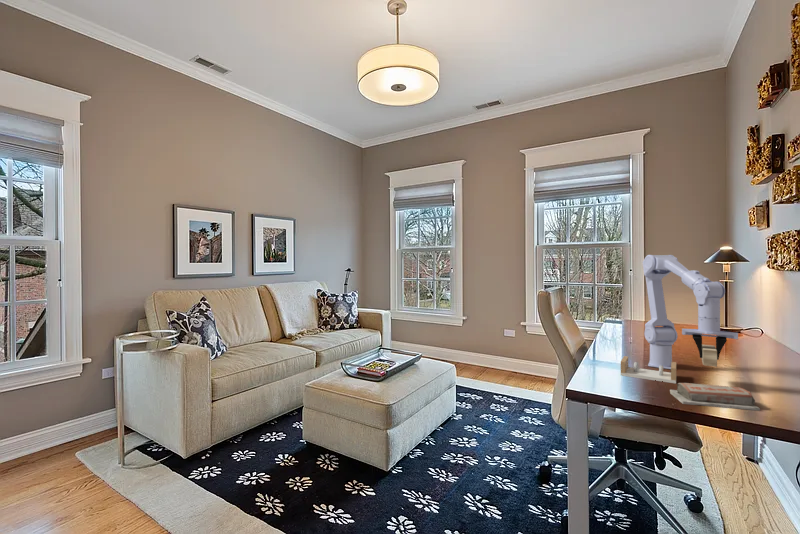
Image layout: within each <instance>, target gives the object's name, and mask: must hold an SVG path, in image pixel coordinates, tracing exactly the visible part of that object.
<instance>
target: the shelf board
mask: <svg viewBox="0 0 800 534" xmlns="http://www.w3.org/2000/svg"><path fill="white" fill-rule="evenodd" d="M702 354H703V358H701V362H702V365H703V366H706V367H708V366H709V367H716V368H717V367H718V360H717V350H716V345H711V344H702Z"/></svg>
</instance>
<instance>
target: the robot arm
mask: <svg viewBox="0 0 800 534" xmlns="http://www.w3.org/2000/svg"><path fill="white" fill-rule="evenodd" d="M641 263H642V269H643V275H644V277H645V282H646V292H647V298H648V299H647V300H648V306H649V313H650V319H649V320H648V321H647V322H645V324H644V332H643V333H644V338H645V340H646V341H647V343H649V361H648V364H647V366H648V367H652V368H658V369H659V365H662V366H663V369H666V370H667V369H668V370H671V362H673V356H672V355H673V345H674V343H676V342H677V339H678V336H679V335H678V332H677V330H676V328H675V323H674V322H672V321H671V320H669V318H668V315H667V307H666V302H665V295H664V288H663V279H664V277H667V276H668V275H670V273H673V274H674V275H676V276H677V277H679V278H681V280H680V281H681V282H682V284H684V285H685V286H687V287H688V288H689V289H690V290H692V291H693V295H694V297H695V302H696V303H697V310H698V311H697V316H698V317H697V328H681V335H683V336H686V335H687V336H692V339H693V341H694V343H695V345H696V347H697V350H698V353H699V358H700V359H702V358H703V354H702V345H703V337H708V338H710V337H711V338H715V348H716V350H717V361H718V360H719V359H720V354H721V351H722V349H723V347H724V346H725V344H726V343H727V341H728V340H727V339H733V340H739V332H732V331H726V330H725V331H724V330H721V299H722V298H723V297H725V293H726V288H725V286H724V284H722V283H721V282H720V281H712V280H710V278H709V277H706V276H704V275H703V274H701V272H700V271H699V270H696V269H693V270H692V269H691V270H689V269H688V268H687V267H686V266H685V265H684V264H682V263H681V262H680V261H679V259H678V257H676V256H674V255H673V254H664V255H663V254H661V255H660V254H647V255H646V256H645V257H644V259H643V260H642V262H641Z"/></svg>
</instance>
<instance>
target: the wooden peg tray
mask: <svg viewBox="0 0 800 534" xmlns="http://www.w3.org/2000/svg"><path fill="white" fill-rule="evenodd" d="M621 375H622V377H629V378H635V379H643V380H649V381H655V380H656V381H657V382H662V381H663V383H670V384H677V362H676V361H672V362H671V369H670V371H664V368H663V366H662V365H659V368H658V370H653V369H646V368H640V367H639V362H638V361H637V362H636V361H634V363H633V366H629V356H628V355H624V356H623V357H622V359H621V360H620V376H621Z"/></svg>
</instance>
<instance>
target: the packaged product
mask: <svg viewBox="0 0 800 534" xmlns="http://www.w3.org/2000/svg"><path fill="white" fill-rule="evenodd" d="M676 387H677V389H669V393H670V395H672V397H674V398H675V399H676V400H678V401H679V402H680V403H681V404H682V405H691V406H703V407H712V408H723V409H735V410H736V409H737V410H746V411H747V410H748V411H756V412H758V411H759V412H760V411H761V408H760V407H758V406H756V405H755V404H756V400H755V398H754V397H753V394H752V393H751V391H749V390H747V389H745V388H743V387H738V386H725V385H716V384H715V385H714V384H701V383H691V382H690V383H689V382H678V383H676Z"/></svg>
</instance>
